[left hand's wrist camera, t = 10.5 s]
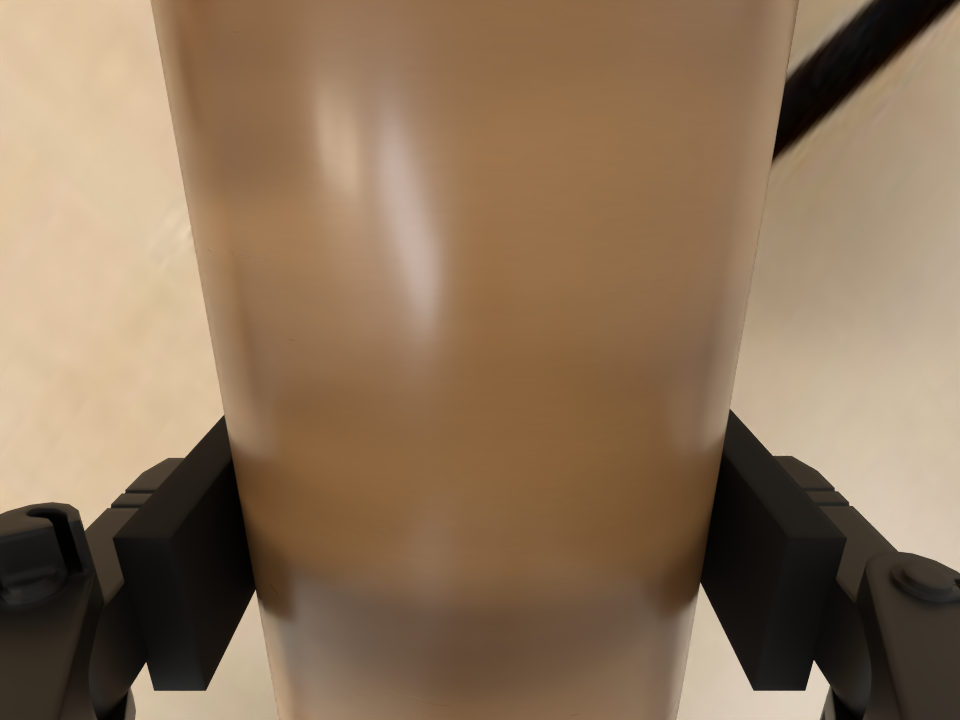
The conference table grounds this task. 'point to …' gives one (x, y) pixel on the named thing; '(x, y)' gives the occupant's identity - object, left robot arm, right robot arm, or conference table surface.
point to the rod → (476, 331)
